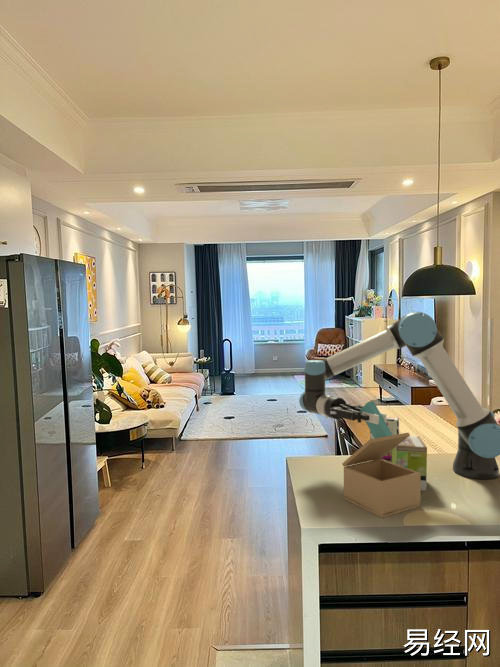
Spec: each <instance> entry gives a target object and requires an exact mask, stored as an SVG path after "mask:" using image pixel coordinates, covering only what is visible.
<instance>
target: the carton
mask: <svg viewBox="0 0 500 667" xmlns="http://www.w3.org/2000/svg"><path fill="white" fill-rule="evenodd" d="M420 486H421V473H419V472H416V471H413V470H411V469H408V468H405V467H402V466H399V465H396V464H394V463H391V461H388V460H386V459H377V460H372V461H367V462H363V463H358V464H353V465H349V466H343V499H344V500H346V501H348V502H349V503H352V504H354V505H355V506H357V507H360V508H362V509H364V510H365V511H368V512H370V513H371V514H374V515H376V516H378V517H379V518H385V517H389V516H392V515H395V514H398V513H402V512H405V511H408V510H411V509H416V508H418V507H421V490H420Z"/></svg>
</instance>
